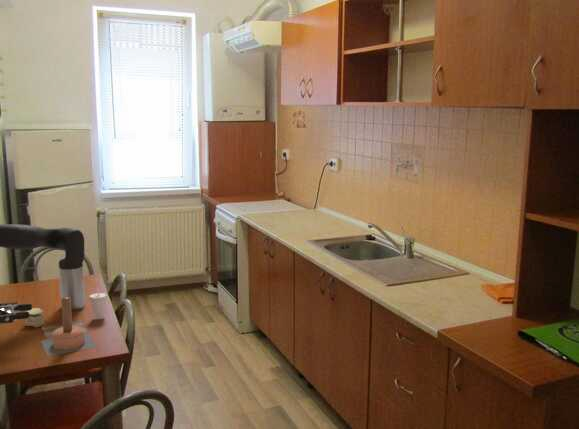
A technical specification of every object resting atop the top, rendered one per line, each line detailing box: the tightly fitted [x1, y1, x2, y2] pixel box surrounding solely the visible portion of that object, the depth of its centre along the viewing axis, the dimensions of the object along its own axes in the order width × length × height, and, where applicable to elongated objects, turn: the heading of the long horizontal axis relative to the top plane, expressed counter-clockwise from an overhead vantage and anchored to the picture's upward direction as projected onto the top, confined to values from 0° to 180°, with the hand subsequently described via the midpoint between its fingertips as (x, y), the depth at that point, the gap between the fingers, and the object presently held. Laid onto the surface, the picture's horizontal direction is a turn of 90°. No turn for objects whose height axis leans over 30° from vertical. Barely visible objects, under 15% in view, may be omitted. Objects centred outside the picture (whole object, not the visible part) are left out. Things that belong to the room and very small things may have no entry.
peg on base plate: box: [51, 297, 85, 350], centre depth 193 cm, size 10×10×17 cm
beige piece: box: [25, 307, 45, 328], centre depth 214 cm, size 10×9×6 cm
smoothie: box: [89, 283, 108, 320], centre depth 219 cm, size 6×6×14 cm
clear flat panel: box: [40, 319, 89, 340], centre depth 208 cm, size 14×14×1 cm
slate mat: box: [40, 332, 98, 357], centre depth 195 cm, size 15×16×1 cm
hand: (30, 310), depth 189 cm, fingers open, 8 cm apart
